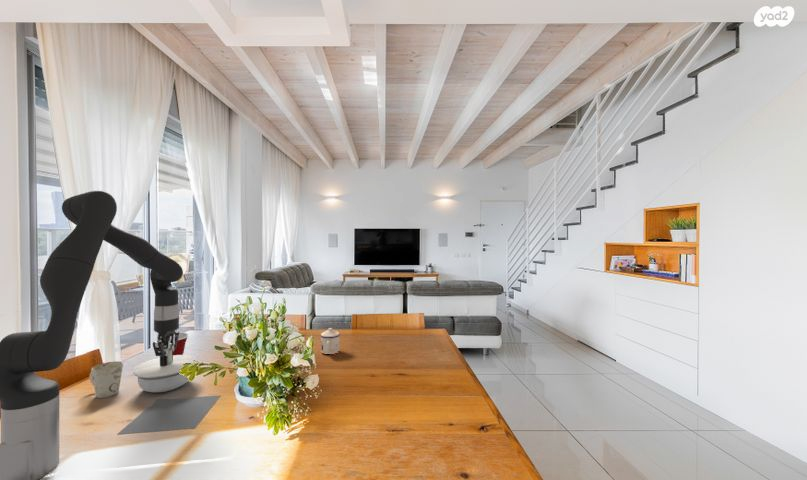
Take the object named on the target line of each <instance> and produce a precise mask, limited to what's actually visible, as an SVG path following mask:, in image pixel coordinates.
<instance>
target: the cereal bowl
mask: <svg viewBox="0 0 807 480" xmlns="http://www.w3.org/2000/svg"><path fill="white" fill-rule="evenodd" d="M188 381H189V380H188V378H187V377H184V376H183V375H180V374H179V373H176V374H172V375H168V376H162V377H153V378H143V377H137V384H138V387H139V388H140V389H141V390H143V391H145V392H148V393H165V392H170V391H173V390H175V389H178V388H179V387H180V388H181V387H182V386H183V385H185V384H186V383H187V382H188Z"/></svg>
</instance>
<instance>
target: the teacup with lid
mask: <svg viewBox="0 0 807 480" xmlns="http://www.w3.org/2000/svg"><path fill="white" fill-rule="evenodd" d="M340 335H341V334H340V332H339V331H337V330H334V329H333V327H329V328H328V329H327V330H325V331H324V332H322V333H320V353H321V352H322V353H325V354H332V353H337V352H338V351H339V352H340ZM339 352H338V353H339ZM322 353H321V354H322ZM338 353H337V354H338Z"/></svg>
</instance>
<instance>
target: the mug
mask: <svg viewBox="0 0 807 480" xmlns="http://www.w3.org/2000/svg"><path fill="white" fill-rule="evenodd" d="M123 366H124V362H123V361H120V360H119V361H116V360H115V361H107V362H103V363H99V364H96V365H94V366H93V367H91V371H90V373H89V377H88V378H89V381H90V383H91V384H92V386H93V389H94V394H95V397H96V398H99V399H103V398H108V397H112V396H115V395H116V394H118V393H119V391H120V386H121V379H122V373H123Z"/></svg>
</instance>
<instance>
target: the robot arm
mask: <svg viewBox="0 0 807 480" xmlns="http://www.w3.org/2000/svg"><path fill="white" fill-rule="evenodd" d="M117 210H118V205H117V202H116V200H115V198H114V197H113V195H112V194H111V193H109V192H107V191H103V190H91V191H87V192H84V193H80V194H76V195H73V196H70V197H68V198H66V199H65V200H64V201H62V204H61V211H62V214H63V215H64V216H65V218H66V219H67V220H69V221H70V222H71V223H73V224H74V225H75V227H74V229H73V230H72V231H71V232H70V233H69V234H68V235H67V237H66V238H64V239H63V240H62V241H61V242H60V243H59V244H58V246H56V247H55V248H54V250H53V251H52V252H51V254H50V255H49V257H48V258H47V260H46V262H45V265H44V267H43V269H42V271H41V275H40V277H39V284H40V287H41V290H42V291H43V292H42V293H43V294H44V296H45V298H46V301H48V304H49V306H50V310H51V314H50V320H49V324H48V326H47V329H46V330H39V331H38V330H37V331H24V332H23V331H22V332H14V333H13V332H12V333H11V334H8V335H6V336H4V337H3V338H2V339H1V340H0V480H39V479H41V478H44V477H46V476H48V475H49V474H50V473H51V472H52V471H53V470H54V469H56V468H57V466H59V464H60V384H59V382H58V381H56V380H52V379H48V378H45V377H42V376H40V375H38V374H37V372H48V371H53V370H56V369H58V368H59V367H61V365H62V364H64V361H65V360H66V358H67V355H68V353H69V351H70V347H71V344H72V339H73V335H74V332H75V331H74V330H75V326H76V322H77V317H78V314H79V310H80V307H81V304H82V301H83V297H84V295H85V292H86V290H87V287H88V285H89V282H90V279H91V277H92V273H93V272H94V268H95V264H96V262H97V261H96V260H97V258H98V255H99V253H100V250H101V247H102V244H103V242H106V243H107V244H110V245H111V246H113V247H114V248H116V249H118V250H119V251H121V252H122V253H124V254H125V255H127V257H129V258H130V259H132V261H134V262H135V263H137V264H139V266H141V267H143V268H145V269H149V270H150V273H149V278H150V283H151V286H152V290H153V293H154V308H153V309H154V310H153V332H155V333H158V334H157V340H156V341H153V342H152V348H153V351H154V355H155V357H159V358H160V366H167V364H168V355H167V354H168V349H172V361H173V351H174V348H176V347H177V342H178V337H179V331H176V330H178V329H179V328H180V308H179V307H180V306H179V290H178V289H177V288H175V287H173V285H172V283H176V282H179V281H180V279H182V278H183V274H184V270H183V268H182V266H181V265H180V264H179V263H178V262H177V261H175V260H173V259H172V258H170V257H169V256H167V255H166V254H164V253H162V252H160V251H159V250H158V249H157V248H156V247H154V245H152V244H151V243H150V242H148V241H147V240H146V239H144V238H143V237H141V236H139V235H137V234H134V233H132V232H129V231H126V230H124V229H123V228H120V227H117V226H116V225H113V221H114V219H115V217H116V214H117V212H118V211H117ZM163 346H164V347H163ZM164 349H165V351H164Z"/></svg>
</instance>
